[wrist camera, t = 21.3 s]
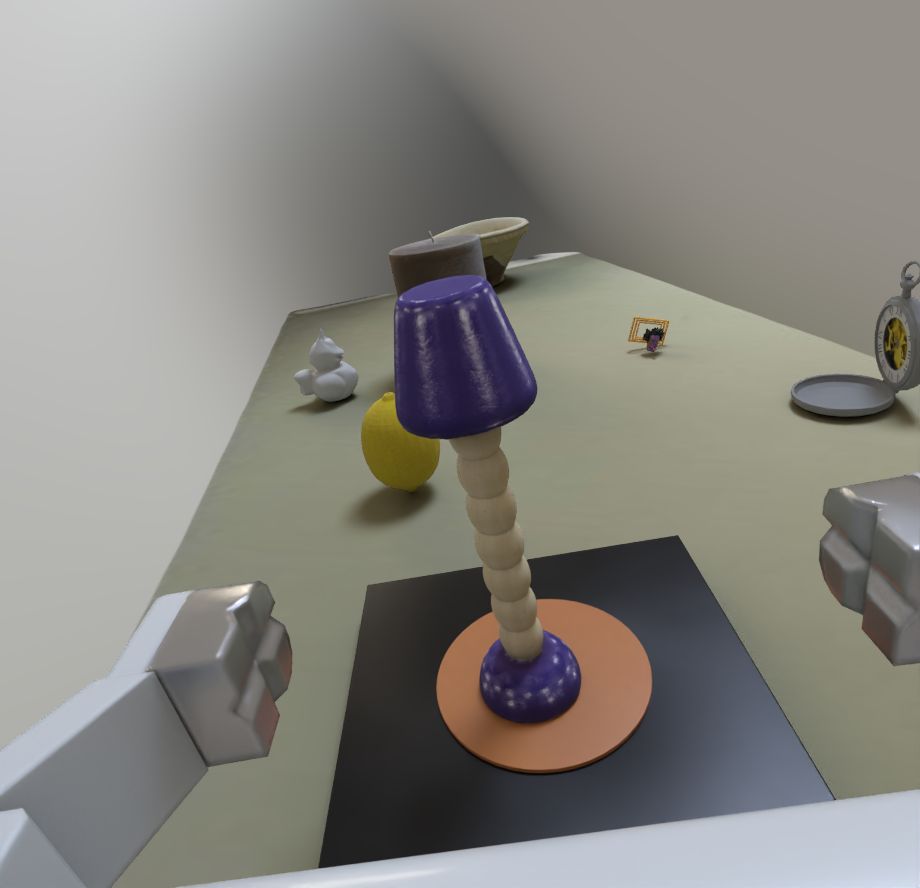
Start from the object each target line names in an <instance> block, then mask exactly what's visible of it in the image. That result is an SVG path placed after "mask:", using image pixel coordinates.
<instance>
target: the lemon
mask: <svg viewBox="0 0 920 888" xmlns="http://www.w3.org/2000/svg"><path fill="white" fill-rule="evenodd" d="M361 441H362V449H363V454H364V457H365V460H366V462H367V464H368V466H369V468H370V470H371V472H372V473H373V475H374V476H375V477H376V478H377V479H378V480H379V481H381V482H382V483H384V484H385V485H387V486H389V487H392V488H395V489H405V490H407V491H409V492H413V491H415V490H416V489H417V488H418V487H419V485H421V484H423V483H424V482H426V481H427V480H428V479H429V478H430V477H431V476H432V474H433V473H434V471H435V469H436V467H437V465H438V462H439V455H440V442H439V439H429V438H424V437H419V436H416V435H414V434H411V433H409V432H407V431H406V430H405V429H404V428H403V427H402V425H401V424H400V423H399V420H398V418H397V414H396V407H395V394H394V393H393V392H388V393H385V394H384V395H383V397H382V398H381V399H380V400H378V401H376V402H375V403H374V404H373V405H372V406H371V407H370V409H369V410H368V411H367V413H366V415H365V416H364V419H363V423H362V432H361Z"/></svg>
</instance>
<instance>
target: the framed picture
mask: <svg viewBox="0 0 920 888" xmlns="http://www.w3.org/2000/svg"><path fill="white" fill-rule="evenodd" d="M635 318H636V319H637V320H636V324H635V328H634V332H633V336H632V339H634V340H630V338H631V334H632V330H633V326H634V322H635ZM638 319H645V320H638ZM647 320H654V321H647ZM637 321H645V322H639V324H640V323H647V322H655V323H647V324H656V323H664V325H663V329H661V327H662V324H657V325H661V327H660V329H658V327H657V329H656V328H654V329H652V330H651V331H650V330H648V329H646V333H647V334H646V333H645V334H644V337H643V339H635V338H642V337H636V336H637V332H638V328H639V324H638V328H637V331H636V335H635V338H633V337H634V333H635V329H636V325H637ZM656 321H664V322H656ZM665 322H667V325H666V329H665V332H663V331H664V327H665ZM668 324H669V321H668V320H658V319H649V318H640V317H634V319H633V323H632V327H631V331H630V335H629V339H628V341H632V342H642V343H647V351H651V352H654V350H656V346H657V345H658V344H661V345H663V342H664V338H665V335H666V331H667V328H668ZM661 330H662V331H661ZM662 338H663V339H662ZM661 339H662V340H661ZM636 340H643V341H636ZM660 341H662V343H658V342H660Z"/></svg>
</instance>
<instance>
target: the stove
mask: <svg viewBox="0 0 920 888" xmlns="http://www.w3.org/2000/svg"><path fill="white" fill-rule="evenodd" d="M527 562H528V565H529V568H530V572H531V583H530V588H531V589H532V591H533V593H534V595H535V598H536V601H537V616H536V617H537V618H538V620H539V622H540V623H541V626H542V630H545V631H548V632H550V633H552V634H554V635H555V636H557V637H559V638H560V639H561V640H563V641H564V642H565V643H566V644H567V645H568V646H569V648H570V649H571V650H572V652H573V654H574V655H575V657H576V659H577V661H578V664H579V667H580V672H581V677H582V678H581V688H580V691H579V694H578V696H577V698H576V700H575V701H574V702H573V704H572V705H571V706H570V707H569V708H568V709H567V710H566V711H564V712H563V713H562V714H560V715H558V716H556V717H554V718H551V719H549V720H547V721H542V722H537V723H516V722H513V721H510V720H507V719H504V718H502V717H500V716H498V715H497V714H495V713H494V712H493V711H492V710H491V709H490V708H489V707H488V706H487V704H486V703H485V702H484V700H483V697H482V695H481V691H480V683H479V678H480V670H481V664H482V662H483V658H484V656H485V655H486V653H487V651H488V650H489V648H490V647H491V646H492V644H493V643H494V642H495V641H497V640H498V639H499V638H500V637H499V622H498V621H497V619H496V618H495V616H494V613H493V610H492V606H491V596H492V593H491V592H490V591H489V590H488V588H487V586H486V584H485V581H484V577H483V567H478V568H472V569H465V570H459V571H453V572H447V573H441V574H434V575H428V576H422V577H416V578H410V579H403V580H397V581H391V582H385V583H379V584H372V585H368V586H367V592H366V597H365V603H364V609H363V615H362V620H361V626H360V632H359V638H358V643H357V649H356V655H355V661H354V666H353V672H352V678H351V684H350V689H349V695H348V701H347V707H346V712H345V718H344V724H343V730H342V736H341V741H340V747H339V753H338V759H337V764H336V770H335V776H334V782H333V787H332V793H331V799H330V805H329V810H328V816H327V822H326V828H325V833H324V839H323V845H322V851H321V856H320V862H319V868H318V869H320V868H328V867H335V866H343V865H351V864H358V863H366V862H373V861H381V860H389V859H396V858H404V857H411V856H419V855H427V854H434V853H442V852H449V851H457V850H465V849H472V848H480V847H487V846H495V845H503V844H510V843H518V842H525V841H533V840H540V839H548V838H555V837H563V836H570V835H578V834H585V833H593V832H601V831H608V830H616V829H623V828H631V827H638V826H646V825H653V824H661V823H668V822H676V821H684V820H691V819H699V818H706V817H714V816H721V815H729V814H736V813H744V812H751V811H759V810H767V809H774V808H782V807H789V806H797V805H804V804H812V803H819V802H827V801H834V800H836V799H835V798H834V796H833V794H832V793H831V791H830V789H829V788H828V786H827V784H826V783H825V781H824V779H823V778H822V776H821V774H820V773H819V771H818V769H817V768H816V766H815V764H814V763H813V761H812V759H811V758H810V756H809V754H808V753H807V751H806V749H805V747H804V746H803V744H802V742H801V741H800V739H799V737H798V736H797V734H796V732H795V731H794V729H793V727H792V726H791V724H790V722H789V721H788V719H787V717H786V716H785V714H784V712H783V711H782V709H781V707H780V706H779V704H778V702H777V701H776V699H775V697H774V695H773V694H772V692H771V690H770V689H769V687H768V685H767V684H766V682H765V680H764V679H763V677H762V675H761V674H760V672H759V670H758V669H757V667H756V665H755V664H754V662H753V660H752V659H751V657H750V655H749V654H748V652H747V650H746V649H745V647H744V645H743V643H742V642H741V640H740V638H739V637H738V635H737V633H736V632H735V630H734V628H733V627H732V625H731V623H730V622H729V620H728V618H727V617H726V615H725V613H724V612H723V610H722V608H721V607H720V605H719V603H718V602H717V600H716V598H715V597H714V595H713V593H712V592H711V590H710V588H709V586H708V585H707V583H706V581H705V580H704V578H703V576H702V575H701V573H700V571H699V570H698V568H697V566H696V565H695V563H694V561H693V560H692V558H691V556H690V555H689V553H688V551H687V550H686V548H685V546H684V545H683V543H682V541H681V540H680V538H679V536H678V535H677V536H670V537H664V538H658V539H652V540H646V541H639V542H633V543H627V544H621V545H615V546H608V547H602V548H596V549H590V550H583V551H577V552H571V553H565V554H559V555H552V556H546V557H540V558H534V559H528V560H527Z"/></svg>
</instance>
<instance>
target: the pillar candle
mask: <svg viewBox="0 0 920 888" xmlns="http://www.w3.org/2000/svg"><path fill="white" fill-rule="evenodd" d="M428 233H429V235H430V237H431V239H428V240H423V241H419V242H416V243H412V244H408V245H405V246H402V247H399V248H396V249H394V250H392V251H390V253H389V258H390V262H391V267H392V273H393V277H394V282H395V286H396V290H397V295H398V298H399V297H400V295H402V294H403V293H404V292H406V291H408V290H409V289H411V288H414V287H416V286H419V285H422V284H424V283H427V282H431V281H435V280H439V279H444V278H448V277H454V276H464V275H476V276H481V277H483V278H485V279H486V273H485V267H484V262H483V255H482V249H481V243H480V235H478V234H475V235H473V234H464V235H454V236H446V237H439V238H433V237H432V235H431V233H430V231H428ZM486 280H487V279H486Z"/></svg>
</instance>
